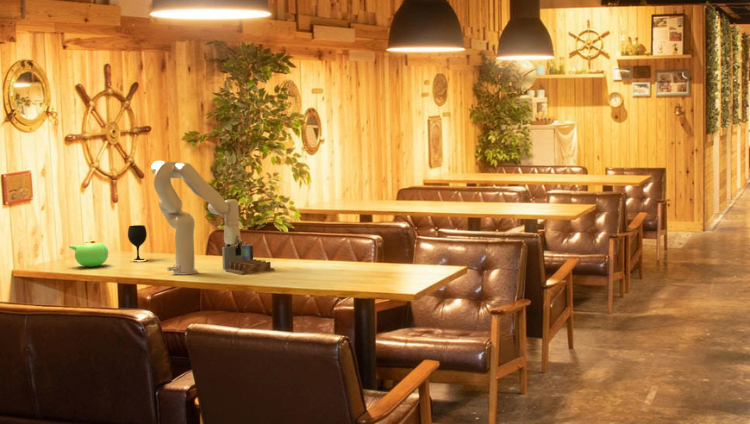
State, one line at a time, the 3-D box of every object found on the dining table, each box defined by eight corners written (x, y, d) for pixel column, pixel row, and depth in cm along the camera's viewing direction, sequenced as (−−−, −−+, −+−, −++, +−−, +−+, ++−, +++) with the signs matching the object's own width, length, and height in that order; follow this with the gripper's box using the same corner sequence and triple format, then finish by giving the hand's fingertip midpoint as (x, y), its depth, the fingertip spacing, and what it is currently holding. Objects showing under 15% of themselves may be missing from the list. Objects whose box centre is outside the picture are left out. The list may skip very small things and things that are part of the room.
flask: (237, 260, 539) (237, 241, 538) (240, 259, 542) (240, 241, 541) (251, 261, 535) (251, 242, 534) (254, 260, 538) (254, 241, 537)
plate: (224, 270, 503) (224, 247, 502) (222, 269, 505) (222, 247, 504) (242, 267, 510) (242, 245, 509) (240, 267, 512) (240, 245, 511)
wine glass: (127, 260, 545) (125, 225, 544) (145, 259, 550) (144, 224, 548) (130, 262, 536) (129, 227, 534) (149, 261, 540) (148, 226, 539)
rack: (241, 274, 486) (241, 265, 485) (225, 271, 498) (225, 262, 497) (274, 270, 498) (274, 261, 498) (258, 267, 511) (257, 258, 510)
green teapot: (87, 269, 510) (86, 242, 509) (68, 267, 521) (67, 240, 519) (114, 265, 525) (113, 239, 523) (95, 263, 535) (94, 237, 534)
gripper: (217, 222, 510) (219, 254, 511) (234, 224, 496) (236, 257, 498) (229, 220, 514) (231, 252, 516) (246, 223, 501) (248, 255, 503)
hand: (233, 254), depth 507 cm, fingers open, 9 cm apart
